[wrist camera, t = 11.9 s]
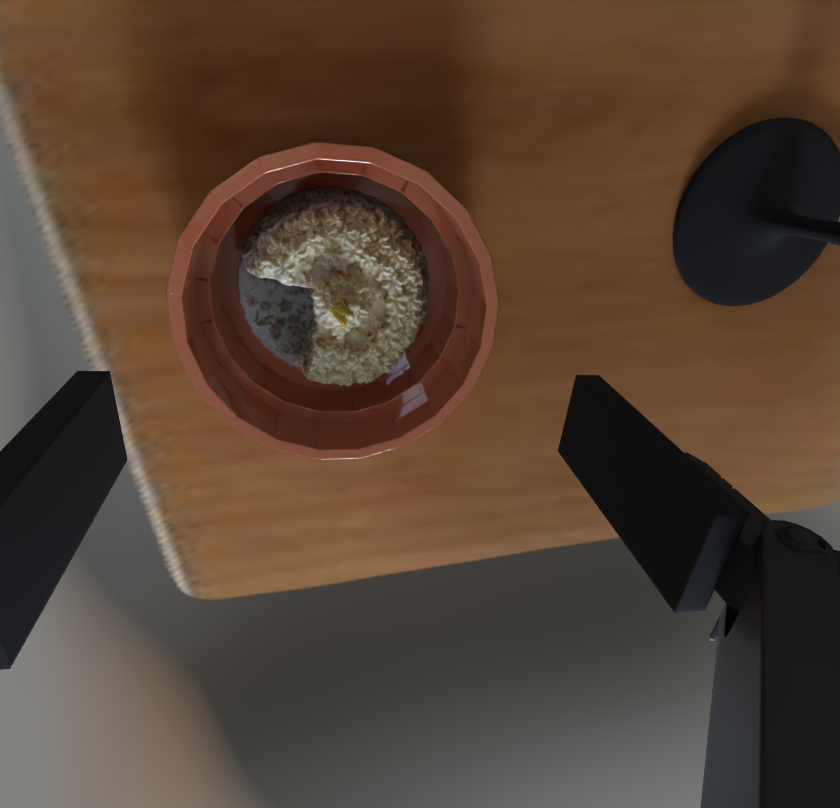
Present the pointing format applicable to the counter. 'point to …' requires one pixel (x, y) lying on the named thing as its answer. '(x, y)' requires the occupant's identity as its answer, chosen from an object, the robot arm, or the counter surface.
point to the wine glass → (758, 212)
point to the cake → (334, 285)
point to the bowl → (286, 385)
